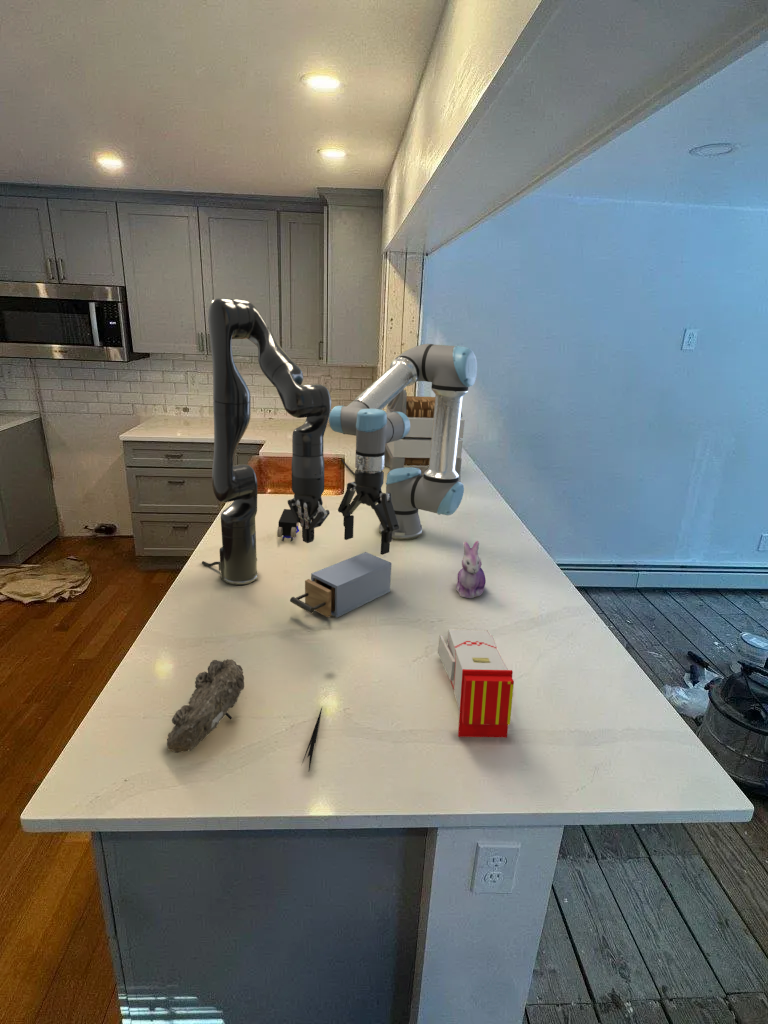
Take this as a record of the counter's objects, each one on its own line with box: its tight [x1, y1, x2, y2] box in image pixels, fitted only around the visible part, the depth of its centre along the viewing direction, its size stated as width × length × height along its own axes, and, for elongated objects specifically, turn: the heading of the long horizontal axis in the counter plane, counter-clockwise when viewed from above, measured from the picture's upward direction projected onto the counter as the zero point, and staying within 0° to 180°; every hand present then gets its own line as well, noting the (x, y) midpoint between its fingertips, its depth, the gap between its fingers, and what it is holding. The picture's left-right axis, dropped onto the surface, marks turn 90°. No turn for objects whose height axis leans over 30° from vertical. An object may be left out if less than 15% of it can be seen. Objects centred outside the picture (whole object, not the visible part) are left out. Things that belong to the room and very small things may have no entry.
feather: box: [301, 673, 332, 771], centre depth 108 cm, size 2×28×2 cm
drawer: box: [289, 578, 335, 618], centre depth 149 cm, size 25×9×7 cm, turn 138°
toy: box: [437, 628, 515, 738], centre depth 117 cm, size 12×13×30 cm
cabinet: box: [310, 551, 392, 618], centre depth 153 cm, size 20×10×9 cm, turn 138°
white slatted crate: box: [384, 388, 465, 482], centre depth 268 cm, size 34×33×41 cm
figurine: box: [455, 540, 487, 599], centre depth 158 cm, size 9×10×15 cm
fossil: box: [166, 658, 245, 754], centre depth 106 cm, size 22×10×15 cm
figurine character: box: [276, 508, 300, 543], centre depth 192 cm, size 7×8×15 cm
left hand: (308, 541), depth 137 cm, fingers closed
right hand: (366, 545), depth 154 cm, fingers open, 13 cm apart
